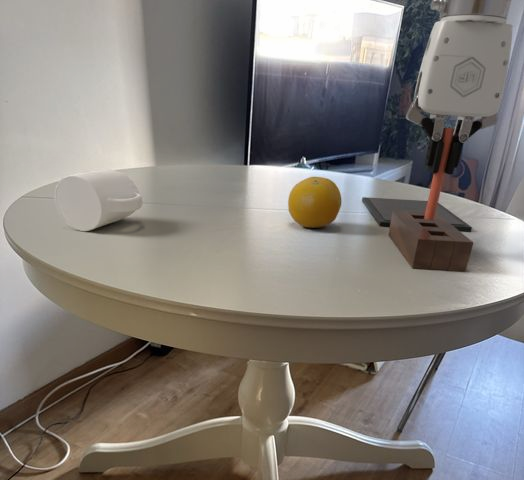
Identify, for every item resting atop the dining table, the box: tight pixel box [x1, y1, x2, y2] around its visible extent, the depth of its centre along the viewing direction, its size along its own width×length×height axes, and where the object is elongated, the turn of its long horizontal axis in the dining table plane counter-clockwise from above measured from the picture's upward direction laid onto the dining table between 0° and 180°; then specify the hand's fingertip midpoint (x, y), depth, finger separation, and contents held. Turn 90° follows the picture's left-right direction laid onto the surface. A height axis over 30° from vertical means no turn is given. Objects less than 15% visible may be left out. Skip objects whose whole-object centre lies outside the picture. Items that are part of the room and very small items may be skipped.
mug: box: [54, 168, 143, 232], centre depth 74 cm, size 12×9×8 cm
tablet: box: [361, 196, 473, 233], centre depth 93 cm, size 16×22×1 cm
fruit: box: [287, 176, 343, 229], centre depth 79 cm, size 9×8×8 cm
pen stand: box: [387, 211, 474, 273], centre depth 71 cm, size 7×17×4 cm, turn 178°
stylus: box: [424, 127, 455, 220], centre depth 66 cm, size 1×1×12 cm
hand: (439, 171), depth 66 cm, fingers closed on stylus, 1 cm apart
